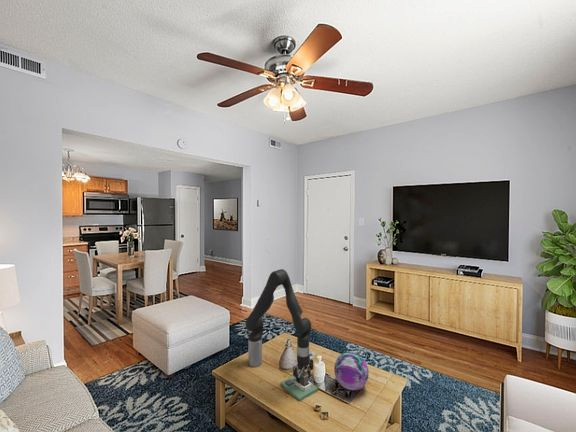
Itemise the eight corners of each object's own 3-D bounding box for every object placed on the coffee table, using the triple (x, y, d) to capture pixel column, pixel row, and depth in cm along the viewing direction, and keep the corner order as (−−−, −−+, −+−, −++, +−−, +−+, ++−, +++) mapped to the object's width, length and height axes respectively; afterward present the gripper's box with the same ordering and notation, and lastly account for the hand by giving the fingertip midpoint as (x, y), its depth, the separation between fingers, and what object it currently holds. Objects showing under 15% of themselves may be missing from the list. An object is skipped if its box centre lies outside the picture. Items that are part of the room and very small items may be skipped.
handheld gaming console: (316, 352, 199) (307, 363, 186) (316, 354, 199) (307, 365, 186) (303, 349, 204) (294, 359, 191) (303, 351, 204) (294, 361, 191)
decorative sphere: (365, 402, 149) (365, 367, 148) (330, 392, 157) (330, 358, 157) (370, 381, 167) (370, 349, 167) (338, 373, 176) (338, 343, 175)
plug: (298, 384, 162) (298, 371, 162) (302, 382, 165) (302, 369, 164) (304, 389, 158) (304, 375, 158) (308, 386, 161) (308, 373, 160)
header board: (280, 384, 165) (280, 379, 165) (298, 375, 173) (297, 370, 173) (299, 401, 151) (299, 395, 150) (317, 390, 159) (317, 384, 159)
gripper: (307, 346, 168) (308, 372, 169) (289, 354, 160) (290, 381, 160) (316, 351, 162) (316, 378, 163) (298, 359, 154) (298, 388, 154)
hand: (303, 379), depth 161 cm, fingers open, 7 cm apart
